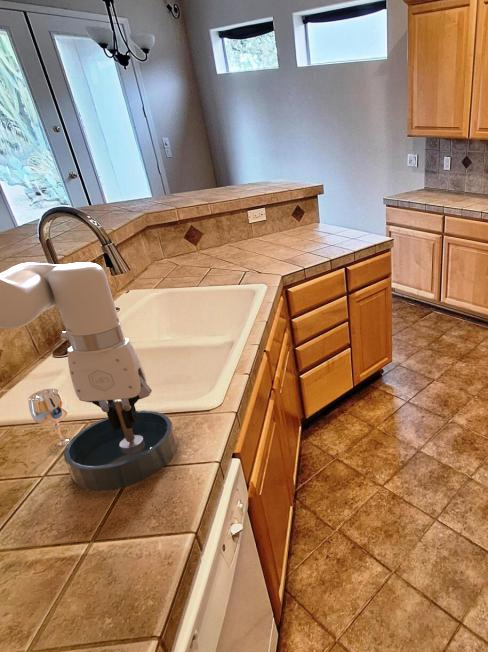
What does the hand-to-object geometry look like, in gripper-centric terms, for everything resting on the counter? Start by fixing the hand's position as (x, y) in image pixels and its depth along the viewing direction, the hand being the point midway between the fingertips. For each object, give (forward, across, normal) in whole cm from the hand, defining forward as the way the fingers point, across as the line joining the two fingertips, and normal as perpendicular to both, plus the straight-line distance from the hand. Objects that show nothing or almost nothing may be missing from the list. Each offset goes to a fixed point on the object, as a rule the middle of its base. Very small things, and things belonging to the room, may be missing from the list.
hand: (125, 424), depth 81 cm
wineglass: (+9, -16, +7) cm, 20 cm away
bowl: (+8, -2, 0) cm, 8 cm away
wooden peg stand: (+6, 0, 0) cm, 6 cm away
